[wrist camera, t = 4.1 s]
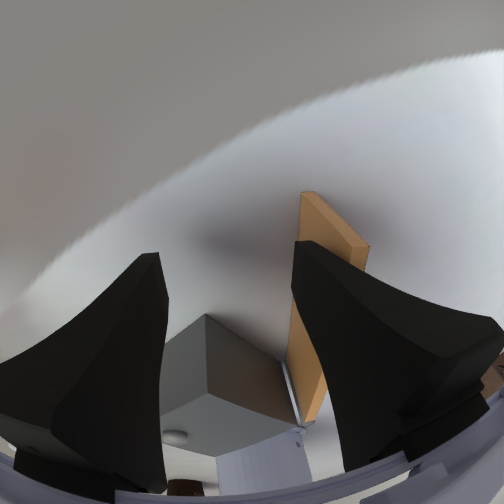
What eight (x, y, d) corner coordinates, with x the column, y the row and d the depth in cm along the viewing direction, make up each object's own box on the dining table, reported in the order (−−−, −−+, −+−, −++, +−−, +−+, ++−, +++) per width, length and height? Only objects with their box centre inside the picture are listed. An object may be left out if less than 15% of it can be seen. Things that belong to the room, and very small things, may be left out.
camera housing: (290, 368, 18) (310, 435, 14) (221, 405, 20) (228, 465, 15) (204, 313, 14) (208, 402, 10) (135, 365, 16) (126, 437, 11)
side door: (294, 363, 18) (314, 424, 14) (283, 365, 18) (301, 427, 14) (316, 191, 12) (372, 245, 8) (298, 192, 12) (349, 247, 8)
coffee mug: (204, 486, 39) (208, 526, 31) (162, 483, 37) (164, 524, 28) (213, 476, 34) (220, 525, 25) (162, 473, 32) (165, 523, 23)
